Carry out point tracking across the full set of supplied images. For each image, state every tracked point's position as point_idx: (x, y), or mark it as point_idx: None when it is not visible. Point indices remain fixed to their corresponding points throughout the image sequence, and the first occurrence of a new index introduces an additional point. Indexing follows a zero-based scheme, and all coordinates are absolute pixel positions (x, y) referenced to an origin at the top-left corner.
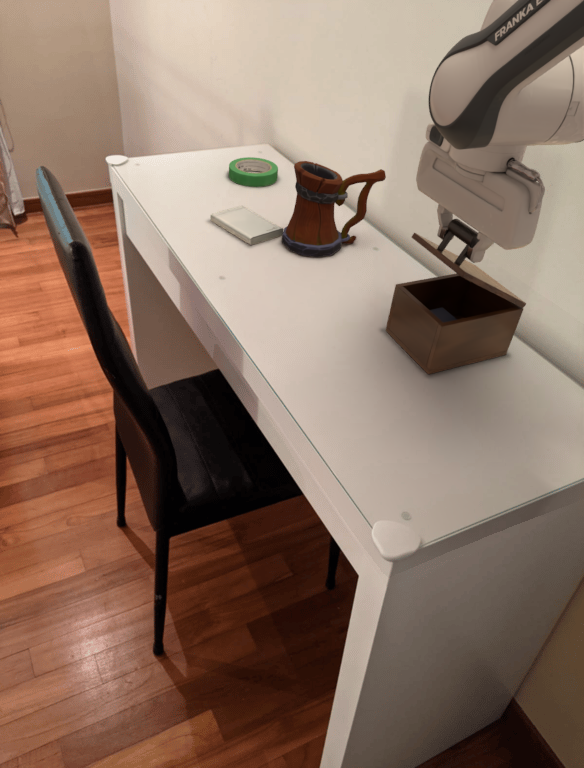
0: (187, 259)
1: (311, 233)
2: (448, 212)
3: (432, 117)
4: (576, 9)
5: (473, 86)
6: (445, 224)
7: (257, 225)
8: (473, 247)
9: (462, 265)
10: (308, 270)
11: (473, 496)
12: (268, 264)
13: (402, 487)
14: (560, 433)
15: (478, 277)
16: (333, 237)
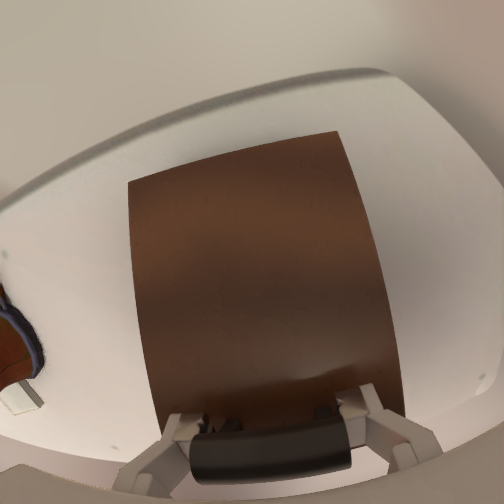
0: (90, 455)
1: (21, 369)
2: (166, 493)
3: None
4: None
5: None
6: (183, 463)
7: (13, 389)
8: (371, 449)
9: (309, 383)
10: (72, 370)
11: (496, 321)
12: (73, 403)
13: (465, 375)
14: (474, 176)
15: (379, 360)
16: (12, 334)
